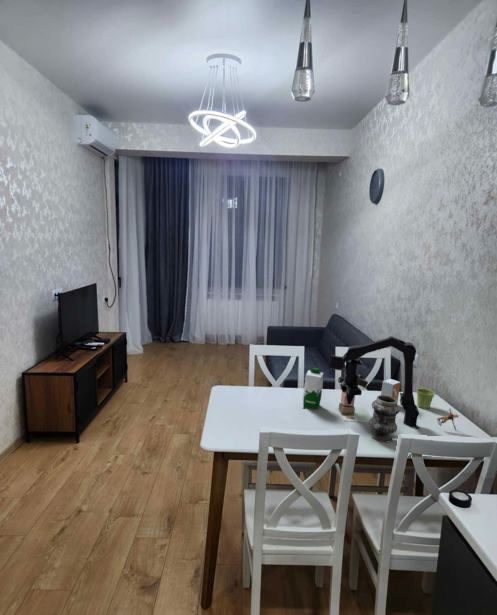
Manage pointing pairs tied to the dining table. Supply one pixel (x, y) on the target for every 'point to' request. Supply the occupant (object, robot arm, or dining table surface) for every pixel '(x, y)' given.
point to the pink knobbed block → (344, 400)
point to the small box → (391, 388)
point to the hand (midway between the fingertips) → (347, 402)
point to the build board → (356, 416)
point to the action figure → (447, 418)
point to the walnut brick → (346, 409)
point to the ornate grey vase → (384, 418)
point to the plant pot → (424, 398)
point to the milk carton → (313, 389)
